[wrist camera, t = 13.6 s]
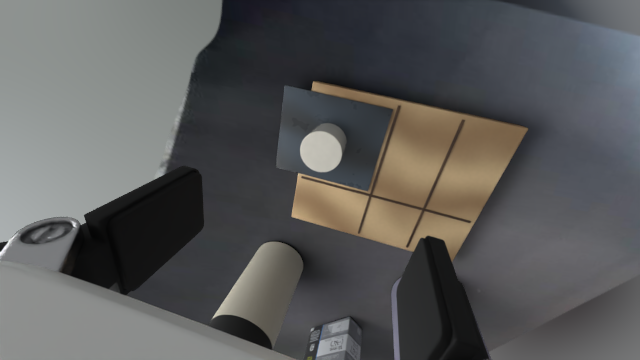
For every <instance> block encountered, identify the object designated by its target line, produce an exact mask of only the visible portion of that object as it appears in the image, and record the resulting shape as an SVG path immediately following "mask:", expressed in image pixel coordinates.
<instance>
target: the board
mask: <svg viewBox="0 0 640 360" xmlns="http://www.w3.org/2000/svg"><path fill="white" fill-rule="evenodd" d="M324 123H331V124H334V125H336V126H338V127H339V128H341V130H342V131H343V132H344V134H345V136H346V140H347V145H346V149H345V151H344V154H343V156H342V159H341V161H340V163H339V164H338V166H337V167H336V168H334V169H333V170H331V171H328V172H317V171H314V170H312V169H310V168H309V167H308V166H307V165H306V164H305V163H304V162H303V160H302V158H301V154H300V147H301V143H302V141H303V139H304V138H305V137H306V136H307V135H308V134H309V133H310V132H311V131H312V130H313V129H314V128H315V127H317V126H318V125H320V124H324ZM527 130H528V128H526V127H524V126H521V125H517V124H512V123H508V122H503V121H499V120H494V119H489V118H485V117H480V116H476V115H471V114H466V113H462V112H457V111H453V110H448V109H444V108H439V107H434V106H430V105H425V104H421V103H416V102H411V101H407V100H402V99H398V98H393V97H388V96H384V95H379V94H375V93H370V92H366V91H361V90H356V89H352V88H347V87H343V86H338V85H333V84H329V83H324V82H320V81H313V85H312V91H309V90H305V89H300V88H296V87H292V86H287V85H285V89H284V98H283V107H282V116H281V125H280V134H279V143H278V152H277V161H276V167H277V168H281V169H285V170H289V171H293V172H296V173H298V179H297V185H296V192H295V198H294V204H293V211H292V217H294V218H297V219H301V220H304V221H308V222H311V223H315V224H318V225H322V226H325V227H329V228H332V229H336V230H339V231H343V232H346V233H350V234H353V235H357V236H360V237H363V238H367V239H370V240H374V241H377V242H381V243H384V244H388V245H391V246H395V247H398V248H402V249H405V250H409V251H412V252H414V250H415V248H416V246H417V244H418V242H419V240H420V238H425V237H426V236H432V237H435V238H439V239H442V240H444V241H445V244H446V247H447V250H448V253H449V256H450V258H451V261H453V260H454V258H455V256H456V254H457V253H458V251H459V249H460V247H461V246H462V244H463V242H464V240H465V239H466V237H467V235H468V233H469V232H470V230H471V228H472V226H473V225H474V223H475V221H476V219H477V218H478V216H479V214H480V212H481V211H482V209H483V207H484V205H485V204H486V202H487V200H488V198H489V197H490V195H491V193H492V191H493V190H494V188H495V186H496V185H497V183H498V181H499V179H500V178H501V176H502V174H503V172H504V171H505V169H506V167H507V165H508V164H509V162H510V160H511V158H512V157H513V155H514V153H515V151H516V150H517V148H518V146H519V144H520V143H521V141H522V139H523V137H524V136H525V134H526V132H527Z"/></svg>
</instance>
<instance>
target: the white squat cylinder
mask: <svg viewBox="0 0 640 360" xmlns="http://www.w3.org/2000/svg"><path fill="white" fill-rule="evenodd" d="M346 145H347V140H346V136H345V134H344V132H343V131H342V130H341V128H339V127H338V126H336V125H334V124H331V123H324V124H320V125H318V126H317V127H315V128H314V129H313V130H312V131H311V132H310V133H309V134H308V135H307V136H306V137H305V138H304V139H303V141H302V143H301V147H300V154H301V158H302V160H303V162H304V163H305V164H306V165H307V166H308V167H309V168H310V169H312V170H314V171H317V172H328V171H331V170H333V169H334V168H336V167H337V166H338V164H339V163H340V161H341V159H342V156H343V154H344V151H345V149H346Z"/></svg>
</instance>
